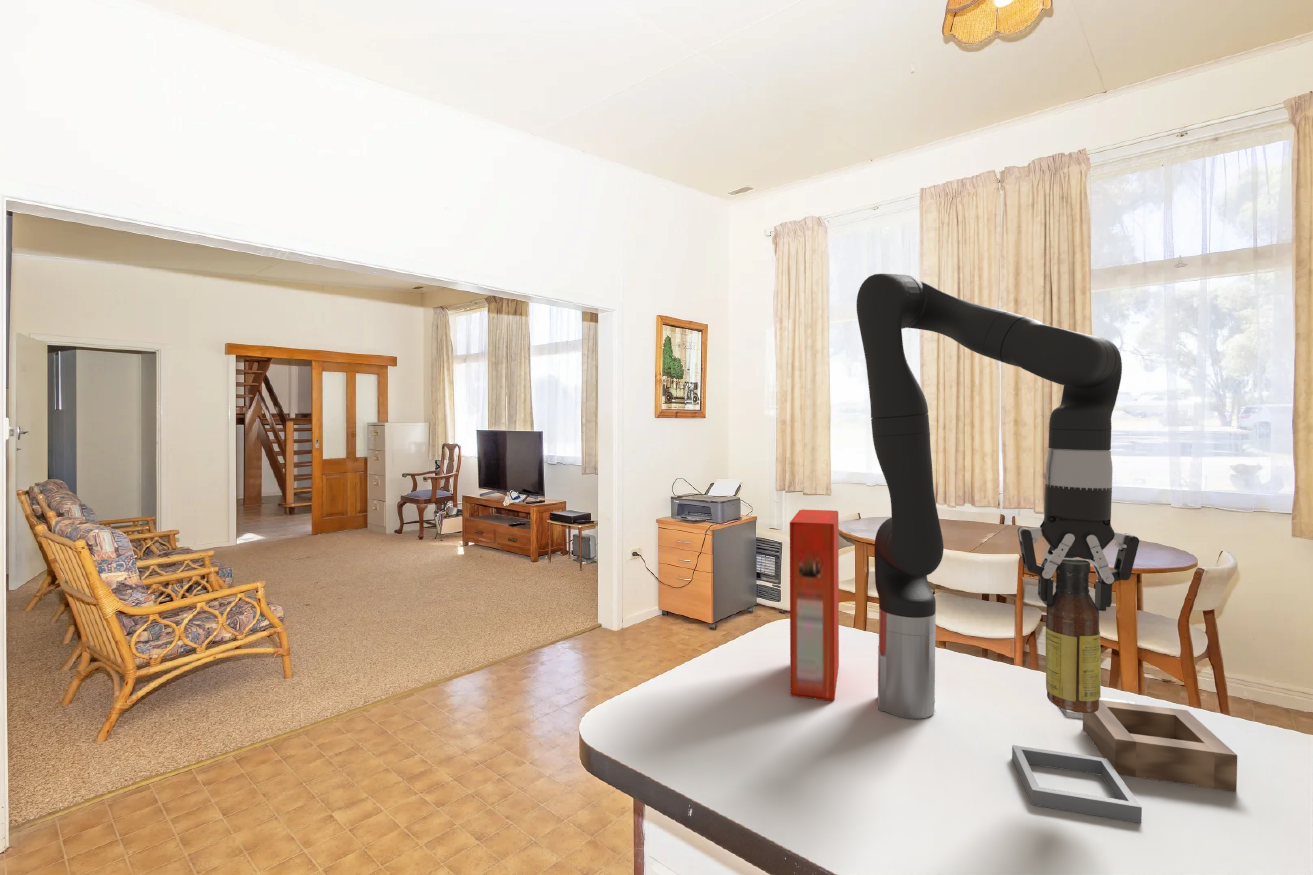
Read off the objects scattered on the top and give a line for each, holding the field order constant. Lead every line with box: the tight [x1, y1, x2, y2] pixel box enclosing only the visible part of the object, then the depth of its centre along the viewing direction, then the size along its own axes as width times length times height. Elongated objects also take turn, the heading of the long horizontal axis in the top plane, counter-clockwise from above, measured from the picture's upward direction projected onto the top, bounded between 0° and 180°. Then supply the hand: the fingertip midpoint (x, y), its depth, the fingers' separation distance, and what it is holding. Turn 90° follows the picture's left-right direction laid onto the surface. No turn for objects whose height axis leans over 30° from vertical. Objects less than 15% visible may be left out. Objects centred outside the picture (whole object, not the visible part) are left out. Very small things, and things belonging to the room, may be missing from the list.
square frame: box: [1011, 744, 1143, 824], centre depth 86 cm, size 12×12×2 cm
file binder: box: [789, 509, 840, 702], centre depth 122 cm, size 8×17×32 cm, turn 161°
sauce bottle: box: [1045, 557, 1102, 713], centre depth 86 cm, size 7×6×20 cm
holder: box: [1082, 700, 1238, 793], centre depth 94 cm, size 14×14×5 cm
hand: (1073, 606), depth 86 cm, fingers closed on sauce bottle, 5 cm apart
